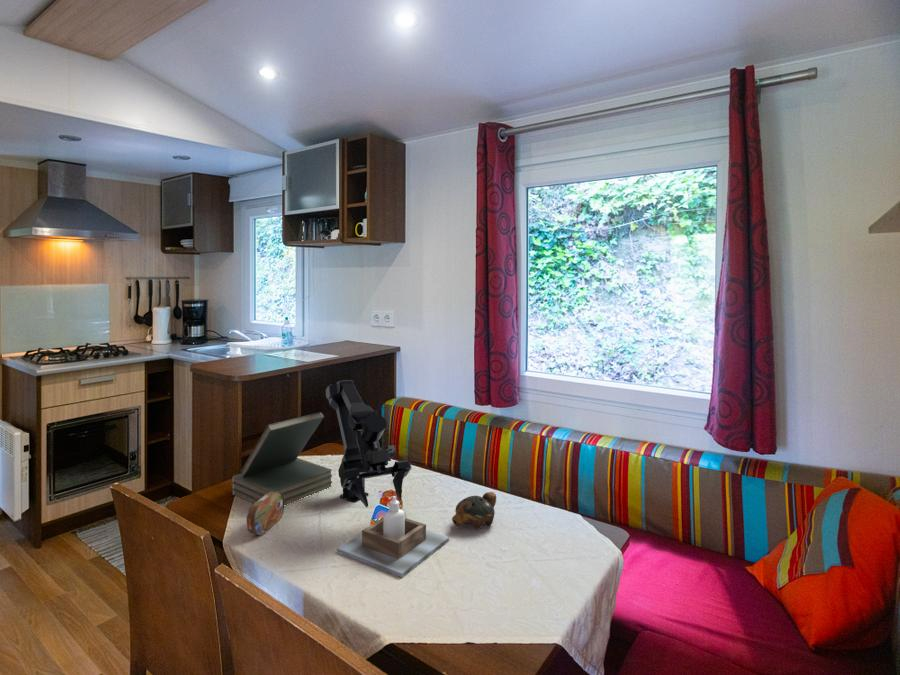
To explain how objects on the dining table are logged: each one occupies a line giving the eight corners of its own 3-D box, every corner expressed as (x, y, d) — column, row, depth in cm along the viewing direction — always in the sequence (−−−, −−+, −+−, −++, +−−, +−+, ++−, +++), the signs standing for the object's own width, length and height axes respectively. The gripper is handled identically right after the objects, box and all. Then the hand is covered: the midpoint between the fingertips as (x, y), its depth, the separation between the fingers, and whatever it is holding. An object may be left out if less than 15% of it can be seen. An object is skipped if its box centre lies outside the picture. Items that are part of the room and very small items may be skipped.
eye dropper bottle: (381, 539, 132) (381, 494, 130) (403, 536, 133) (403, 492, 132) (384, 548, 128) (384, 501, 126) (406, 545, 129) (407, 499, 128)
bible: (294, 474, 179) (293, 403, 176) (332, 488, 167) (331, 412, 164) (232, 495, 160) (230, 416, 157) (270, 513, 149) (268, 428, 146)
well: (388, 520, 144) (388, 503, 144) (449, 540, 134) (449, 522, 133) (337, 552, 127) (336, 532, 127) (402, 577, 117) (402, 556, 116)
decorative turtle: (506, 521, 146) (507, 494, 144) (469, 542, 135) (469, 514, 134) (480, 508, 152) (481, 482, 151) (443, 527, 142) (443, 500, 141)
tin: (255, 541, 132) (255, 509, 131) (244, 540, 133) (243, 508, 132) (285, 515, 147) (285, 486, 146) (275, 514, 147) (275, 485, 146)
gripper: (343, 440, 134) (356, 497, 126) (409, 431, 143) (425, 484, 135) (335, 460, 142) (346, 514, 134) (398, 450, 151) (413, 501, 143)
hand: (384, 503), depth 136 cm, fingers open, 9 cm apart
